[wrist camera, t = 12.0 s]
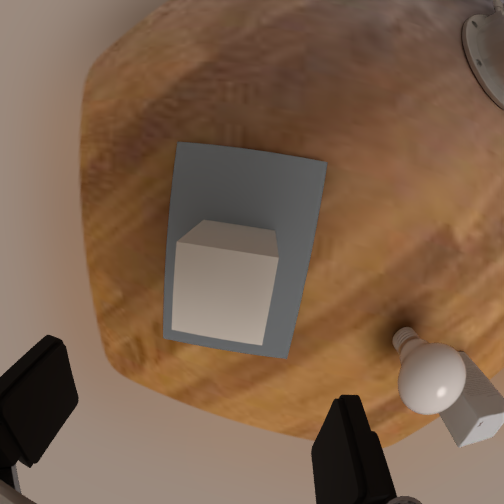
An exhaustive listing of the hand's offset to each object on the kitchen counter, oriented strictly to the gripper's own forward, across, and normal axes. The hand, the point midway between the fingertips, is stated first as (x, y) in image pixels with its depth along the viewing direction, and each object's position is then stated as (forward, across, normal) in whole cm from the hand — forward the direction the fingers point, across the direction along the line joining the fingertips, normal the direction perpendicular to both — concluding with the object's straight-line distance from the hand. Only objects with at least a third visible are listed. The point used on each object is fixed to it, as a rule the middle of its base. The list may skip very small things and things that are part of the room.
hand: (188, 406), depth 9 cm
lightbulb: (+18, -18, +6) cm, 26 cm away
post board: (+18, 0, 0) cm, 18 cm away
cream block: (+17, 0, 0) cm, 17 cm away
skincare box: (+18, -26, +10) cm, 33 cm away
